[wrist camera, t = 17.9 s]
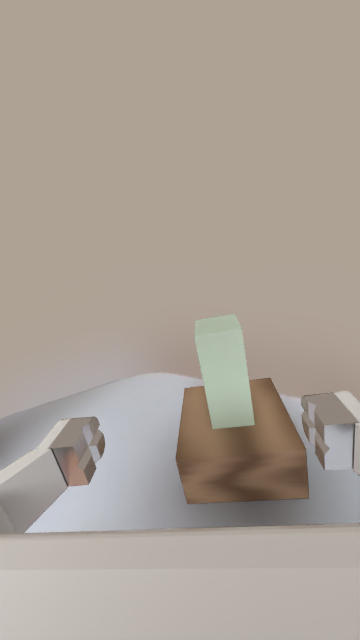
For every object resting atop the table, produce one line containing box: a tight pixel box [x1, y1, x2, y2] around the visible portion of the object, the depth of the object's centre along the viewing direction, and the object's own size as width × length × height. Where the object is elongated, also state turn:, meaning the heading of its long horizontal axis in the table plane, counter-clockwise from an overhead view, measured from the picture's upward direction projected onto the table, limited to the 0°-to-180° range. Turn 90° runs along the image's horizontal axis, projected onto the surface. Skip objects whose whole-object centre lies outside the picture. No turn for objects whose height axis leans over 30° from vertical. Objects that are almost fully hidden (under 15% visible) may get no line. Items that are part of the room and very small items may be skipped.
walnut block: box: [176, 378, 309, 504], centre depth 29 cm, size 12×12×6 cm
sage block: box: [194, 314, 255, 429], centre depth 26 cm, size 4×5×11 cm
